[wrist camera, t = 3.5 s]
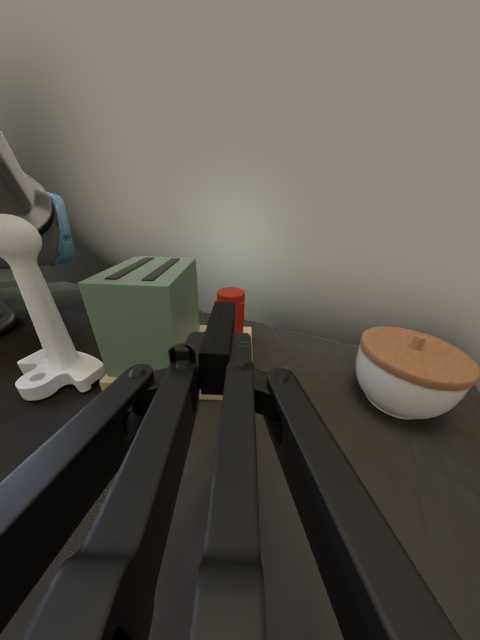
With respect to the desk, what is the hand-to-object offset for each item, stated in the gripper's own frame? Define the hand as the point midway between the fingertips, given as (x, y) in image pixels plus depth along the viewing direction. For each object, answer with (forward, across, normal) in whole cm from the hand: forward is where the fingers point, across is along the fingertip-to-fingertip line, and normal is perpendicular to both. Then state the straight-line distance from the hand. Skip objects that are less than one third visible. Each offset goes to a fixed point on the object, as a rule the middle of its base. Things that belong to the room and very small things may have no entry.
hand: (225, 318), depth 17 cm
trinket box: (+6, +21, -14) cm, 26 cm away
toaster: (+12, -6, -14) cm, 19 cm away
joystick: (+7, -23, -14) cm, 27 cm away
